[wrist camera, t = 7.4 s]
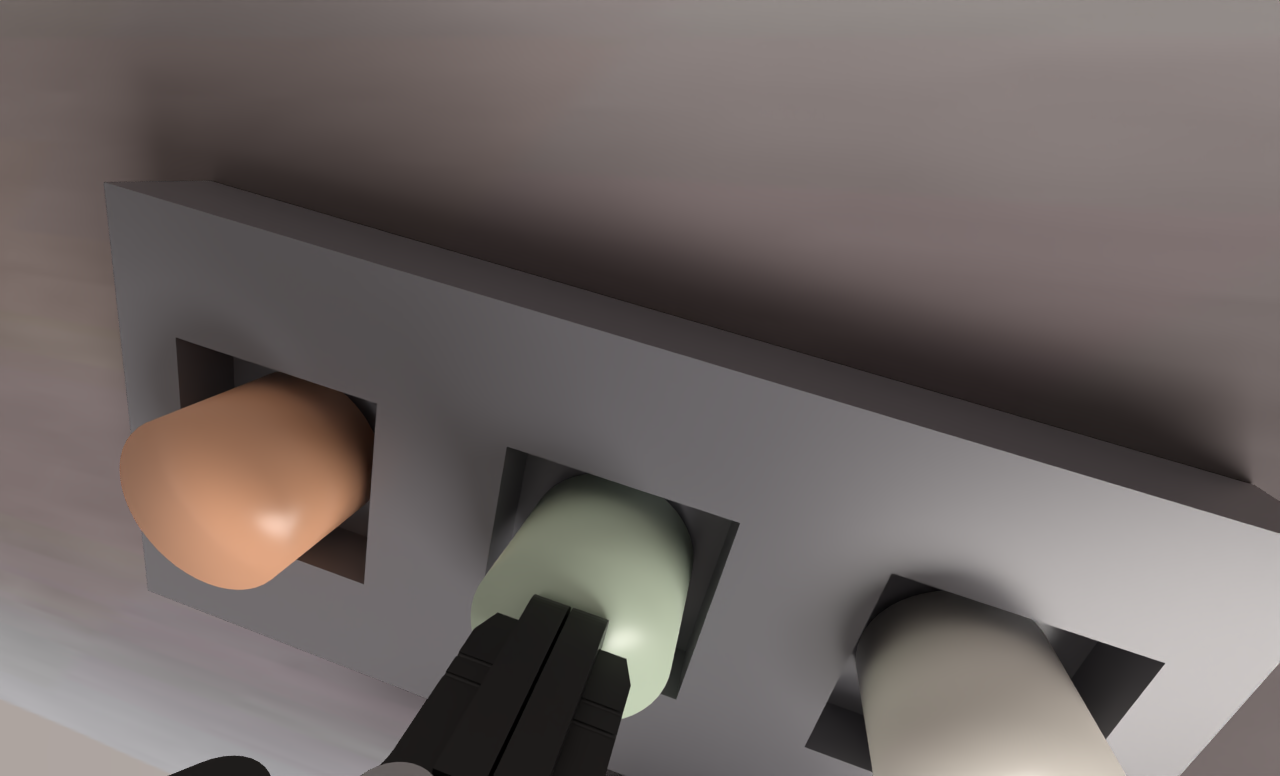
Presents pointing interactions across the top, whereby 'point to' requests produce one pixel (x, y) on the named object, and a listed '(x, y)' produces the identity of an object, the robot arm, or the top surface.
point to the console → (684, 490)
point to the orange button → (248, 477)
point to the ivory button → (971, 695)
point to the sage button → (602, 572)
